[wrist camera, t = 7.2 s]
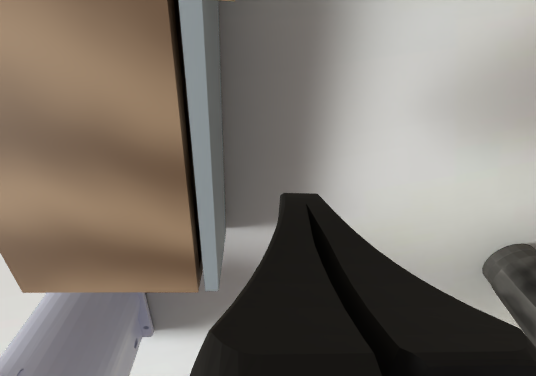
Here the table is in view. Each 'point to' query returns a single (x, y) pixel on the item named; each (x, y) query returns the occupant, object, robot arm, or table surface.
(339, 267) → the robot arm
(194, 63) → the cabinet door
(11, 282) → the table surface
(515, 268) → the beverage cup
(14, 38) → the walnut cabinet
